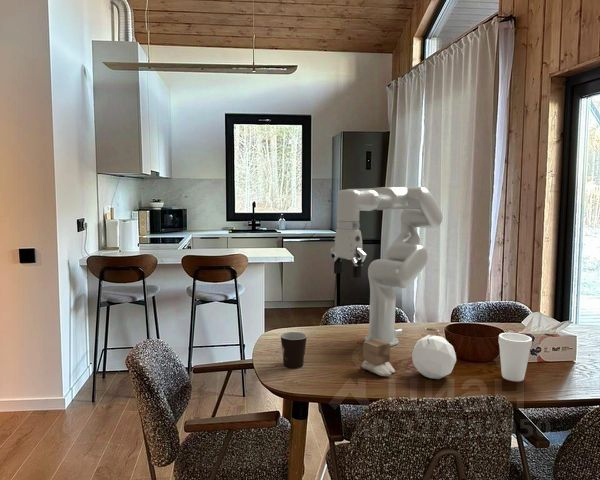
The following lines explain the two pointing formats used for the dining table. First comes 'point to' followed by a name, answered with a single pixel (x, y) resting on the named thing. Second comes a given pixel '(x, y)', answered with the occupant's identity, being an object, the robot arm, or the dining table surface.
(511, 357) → the foam cup
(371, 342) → the walnut block
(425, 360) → the geodesic sphere
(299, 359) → the coffee mug
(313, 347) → the dining table surface
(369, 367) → the decorative stone
